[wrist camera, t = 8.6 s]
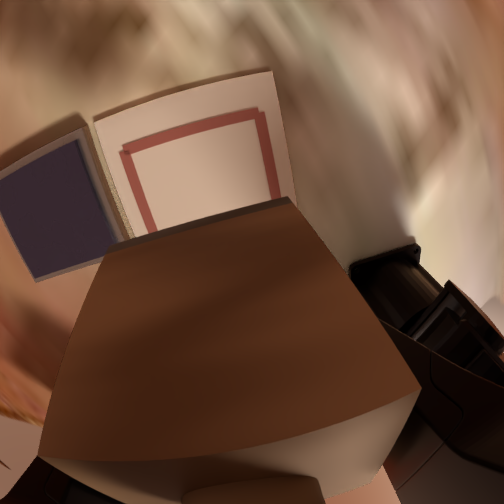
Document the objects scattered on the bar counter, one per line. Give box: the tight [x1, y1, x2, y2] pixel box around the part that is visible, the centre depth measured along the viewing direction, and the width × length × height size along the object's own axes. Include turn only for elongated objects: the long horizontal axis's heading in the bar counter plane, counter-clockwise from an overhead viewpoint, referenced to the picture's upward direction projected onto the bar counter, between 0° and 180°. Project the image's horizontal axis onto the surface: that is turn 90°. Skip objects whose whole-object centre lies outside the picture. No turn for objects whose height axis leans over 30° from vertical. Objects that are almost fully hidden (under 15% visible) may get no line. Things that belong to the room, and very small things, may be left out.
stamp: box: [37, 196, 422, 504], centre depth 6 cm, size 5×5×8 cm
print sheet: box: [94, 71, 298, 237], centre depth 17 cm, size 10×12×1 cm
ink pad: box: [0, 125, 130, 283], centre depth 15 cm, size 8×8×1 cm
